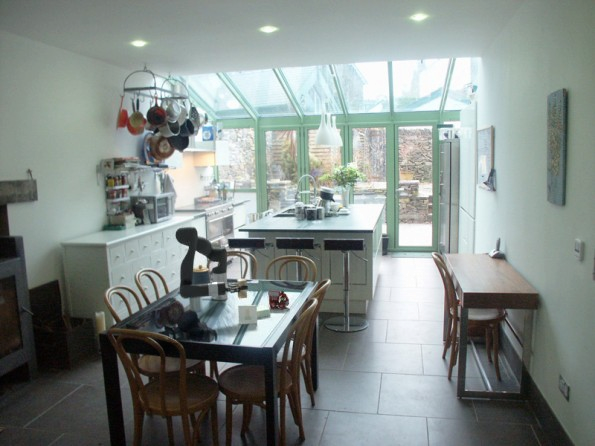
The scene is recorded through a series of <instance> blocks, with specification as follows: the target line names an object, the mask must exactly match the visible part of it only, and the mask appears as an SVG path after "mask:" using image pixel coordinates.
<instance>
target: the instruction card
mask: <svg viewBox="0 0 595 446" xmlns="http://www.w3.org/2000/svg"><path fill="white" fill-rule="evenodd" d="M257 307H258V304H252V305H251V304H250V305H249V304H248V305H238V309H237V310H238V313H237V314H238V325H254V324H258V318H257Z"/></svg>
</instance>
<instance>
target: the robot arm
mask: <svg viewBox="0 0 595 446" xmlns="http://www.w3.org/2000/svg"><path fill="white" fill-rule="evenodd" d="M174 237H175V240H176V241H177V242H178V243H179V244H180V245H184V246H186V247H188V249H187V252H186V254H185V256H184V257H183V259H182V261H181V263H180V269H179V270H180V271H179V277H180V282H179V295H180V297H181V298H182V299H184V300H188V299H190V298H196V297H198V298H199V297H200V298H202V297H204V298H205V297H211V299H213V300H214V301H224V300H227V299H228V293H230V294H234V293H238V292H240V291H241V290H247V291H248V289H249V286H248V285H246V286H237V282H228V251H227V248H225V247H213V245H212V243H211V241H210V240H208V238H206V237H203V236H199V235H198V230H197V228H196V227H194V226H185V227H180V228H178V229H177V230H176V231H175V236H174ZM197 252H198V253H199V254H201V255H203V256H205V257H206V258H207V259H208V260H209V261H211V262H213V263H219V264H218V266H214V267H212V270H211V274H212V275H211V276H212V280H211V281H212V282H211V283H208V284H199V285H192V280H193V269H194V262H195V257H196V253H197Z"/></svg>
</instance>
